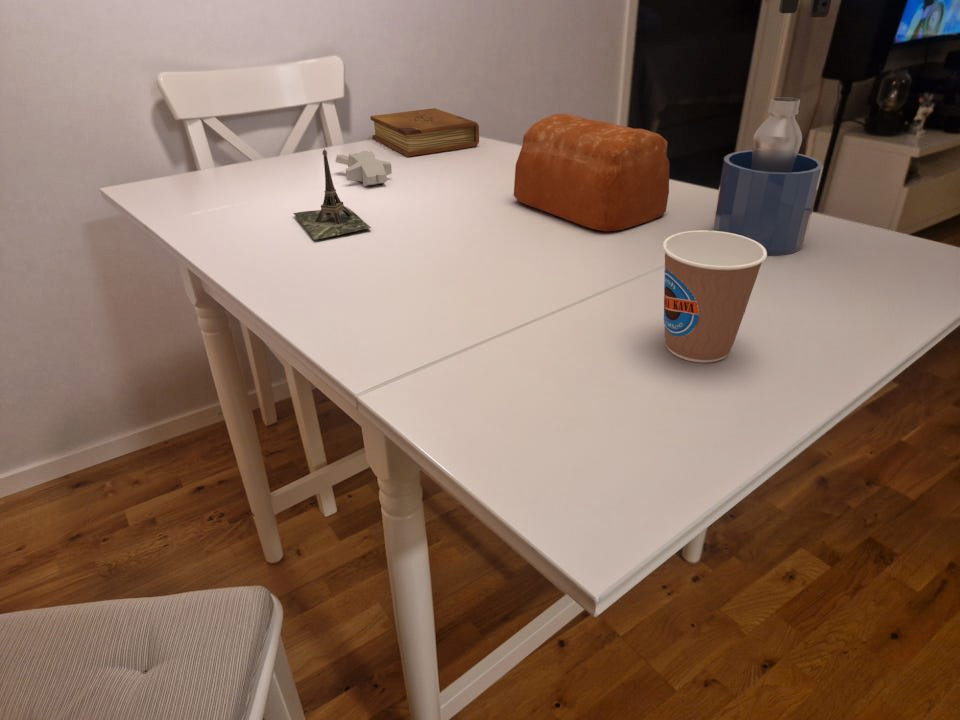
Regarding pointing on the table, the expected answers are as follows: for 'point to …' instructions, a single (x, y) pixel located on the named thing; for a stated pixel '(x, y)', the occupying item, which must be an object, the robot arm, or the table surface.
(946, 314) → the table surface
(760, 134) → the plastic bottle
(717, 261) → the coffee cup
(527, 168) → the bread
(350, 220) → the eiffel tower figurine
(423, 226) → the table surface
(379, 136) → the diary
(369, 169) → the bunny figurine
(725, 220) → the blue bin
